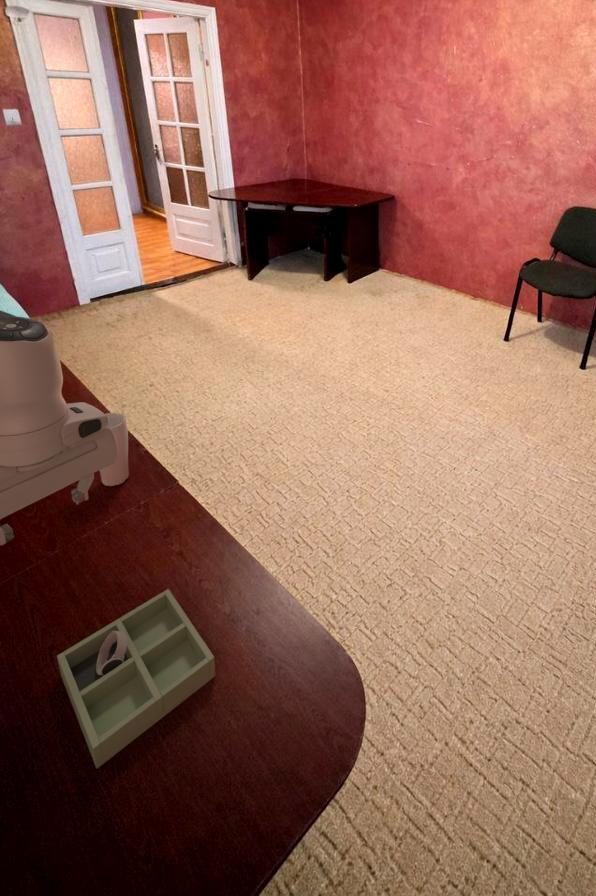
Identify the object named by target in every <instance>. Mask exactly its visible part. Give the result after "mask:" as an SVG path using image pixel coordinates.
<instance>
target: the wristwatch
mask: <svg viewBox="0 0 596 896" xmlns="http://www.w3.org/2000/svg"><path fill="white" fill-rule="evenodd" d="M116 641H117V648H116V652H115V654H114V655H113V656H112V658H111V659H110V660H108V661H107V659H106V658H108V654H109V651H110V647H111V646H112V644H113V643H115V642H116ZM126 648H127V636H126V634H125V633H124V632H123V631H112V632H111V633H110V634H109V635H108V637H107V638H106V639H105V641H104V642H103V644H102V646H101V648H100V651H99V652H100V653H99V655H98V659H97V665H96V672H97V674H98V675H106V674H107V673H109V672H110V671H112V670H113V669H115V668H116V667H118V666H119V665H121V664H122V663H124V661H123V659H124V654H125V652H126ZM114 657H116V658H114ZM119 657H120V658H119Z"/></svg>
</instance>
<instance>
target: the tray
mask: <svg viewBox="0 0 596 896" xmlns="http://www.w3.org/2000/svg"><path fill="white" fill-rule="evenodd" d="M112 631H123V632H124V633H125V634H126V636H127V648H126V652H125V654H124V659H123V661H124V663H122V664H121V665H119V666H118V667H116V668H115V669H113V670H112V671H110V672H109V673H107V674H106V675H98V674H97V672H96V665H97V659H98V655H99V653H100V652H99V651H100V648H101V646H102V644H103V642H104V641H105V639H106V638H107V637H108V635H109V634H110V633H111V632H112ZM116 648H117V641H116V642H115V643H113V644H112V646H111V647H110V651H109V654H108V658H106V659H107V661H108V660H110V659H111V658H112V656H113V655H114V654H115V652H116ZM114 658H116V657H114ZM119 658H120V657H119ZM56 659H57V664H58V668H59V674H60V677H61V680H62V682H63V685H64V687H65V690H66V693H67V696H68V698H69V701H70V703H71V706H72V709H73V711H74V713H75V716H76V719H77V722H78V725H79V726H80V730H81V732H82V734H83V738H84V739H85V742H86V745H87V749H88V751H89V753H90V756H91V757H92V761H93V763H94V766H95V769H99V768H100V767H101V766H103V765H104V764H106V763H107V762H108V761H109V760H111V758H113V757H114V756H116V754H118V753H119V752H120V751H122V750H123V749H124V748H125V747H127V746H128V745H129V744H131V743H132V742H133V741H135V740H136V739H137V738H138V737H139V736H140V735H143V734H144V733H145V732H146V731H147V730H149V729H150V728H151V727H153V726H154V725H155V724H156V723H158V722H159V721H160V720H161V719H163V718H164V717H165V716H166V715H168V714H169V713H171V711H173V710H174V709H175V708H177V707H178V706H179V705H181V704H182V703H183V702H184V701H185V700H187V699H188V698H190V696H193V694H195V693H196V692H197V691H198V690H199V689H201V688H202V687H203V686H205V685H206V684H207V683H208V682H210V681H211V680H212V679H214V678H215V677H216V676H217V675H216V660H215V656H214V654H213V653H212V651H211V650H210V649H209V647H208V645H207V644H206V642H205V641H204V640H203V638H202V637H201V635H200V633H199V632H198V630H197V629H196V628H195V626H194V624H193V623H192V622H191V620H190V619H189V617H188V616H187V614H186V612H185V611H184V610H183V608H182V606H181V605H180V604H179V602H178V601H177V599H176V598H175V596H174V595H173V593H172V591H171V590H170V589H169V588H167V589H166V590H164V591H162V592H161V593H159V594H157V595H156V596H154V597H152V598H150V599H149V600H147V601H146V602H144V603H142V604H141V605H139V606H137V607H135V608H134V609H132V610H130V611H129V612H127V613H126V614H124V615H122V616H120V617H118V618H117V619H115V620H114V621H112V622H111V623H109V624H107V625H106V626H104V627H102V628H101V629H99V630H97V631H95V632H94V633H92V634H91V635H89V636H87V637H86V638H83V639H82V640H80V641H79V642H77V643H76V644H74V645H73V646H71V647H69V648H67V649H66V650H64V651H62V652H61V653H59V654H57V655H56Z"/></svg>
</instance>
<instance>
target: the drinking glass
mask: <svg viewBox="0 0 596 896" xmlns="http://www.w3.org/2000/svg"><path fill="white" fill-rule="evenodd" d="M104 414H105V415H106V416H107V417H108V420H109V423H108V426H107V427H109V428H110V429H112V431H113V432H114V435H115V438H116V442H117V447H118V456H117V458H116V460H115V462H114V463H113V464H111V465H109V466H107V467H105V468H103V469H101V470H99V471H98V472H99V476H100V480H101V483H102V485H103V486H106V487H116V486H119V485H121V484H123V483H125V482H126V481H127V480H128V479H129V476H130V469H129V430H128V429H129V428H128V423H127V416H125V414H124V413H121V412H108V413H104ZM126 479H127V480H126ZM125 480H126V481H125ZM115 485H116V486H115Z"/></svg>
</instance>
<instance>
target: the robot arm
mask: <svg viewBox="0 0 596 896" xmlns="http://www.w3.org/2000/svg"><path fill="white" fill-rule="evenodd" d="M63 384H64V376H63V369H62V364H61V359H60V354H59V350H58V347H57V344H56V341H55V339H54V337H53V335H52V333H51V332H50V330H49V328H48V327H47V326H46V325H45V324H44V323H42V322H40V321H38V320H36V319H32V318H29V317H25V316H16V315H14V314H11V313H9V312H6V311H3V310H0V520H2V519H4V518H6V517H8V516H10V515H12V514H14V513H16V512H19V511H20V510H22V509H24V508H26V507H28V506H31V505H32V504H34V503H36V502H38V501H40V500H42V499H44V498H46V497H48V496H51V495H52V494H54V493H56V492H58V491H61V490H63V489H65V488H66V487H68V486H70V485H73V484H75V483H76V482H77V486H76V488H74V489H71V491H70V493H71V500H72V501H73V502H74V503H75V504H76V505H80V504H82V503H84V502H85V501H88V500H89V498H90V497H89V492H88V491H89V490H90V488H91V486H92V485H93V484H92V483H93V481H94V479H95V473H96V472H100V471H99V470H101V469H103V468H105V467H107V466H109V465H111V464H113V463H114V462H115V460H116V458H117V456H118V447H117V442H116V438H115V435H114V432H113V431H112V429H110V428H109V427H107V426H108V423H109V420H108V417H107V416H106V415H105V414H106V413H105V412H103V411H101V410H100V409H99V408H97V407H96V406H93V405H92V404H89V403H87V402H83V401H81V402H80V401H79V402H71V403H70V402H69V403H67V401H66V400H65V399H64V397H63V394H62V390H63V389H62V388H63ZM13 540H15V535H14V530H13V528H12V527H11V526H10V525H9V524H8V523H5V524H2V525H0V546H3V545H5V544H8V543H9V542H11V541H13Z"/></svg>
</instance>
